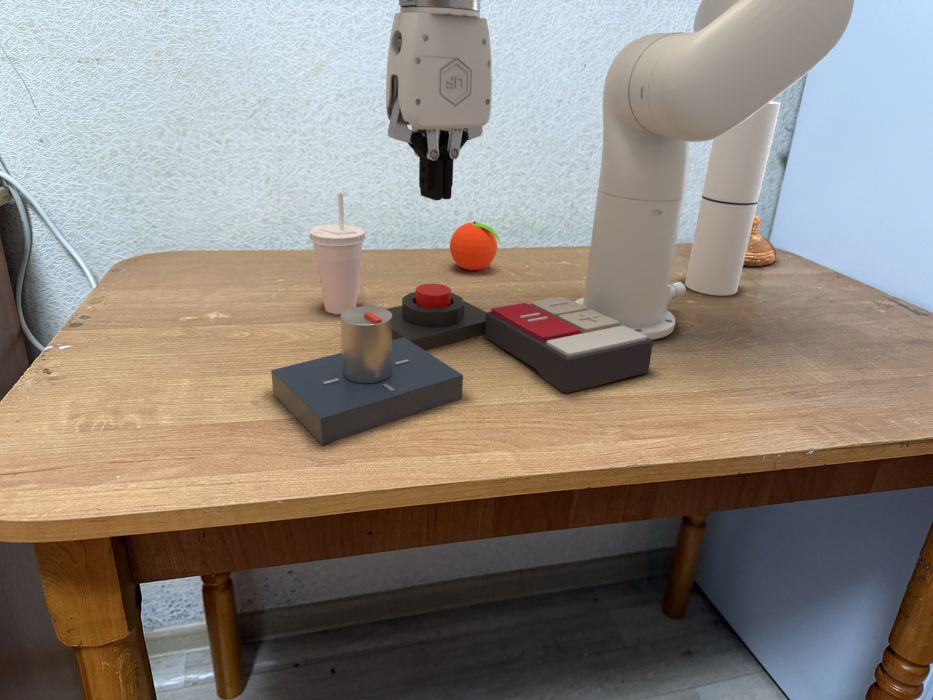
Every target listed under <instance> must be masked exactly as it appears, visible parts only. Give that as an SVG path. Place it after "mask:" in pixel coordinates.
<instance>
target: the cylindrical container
mask: <svg viewBox="0 0 933 700" xmlns="http://www.w3.org/2000/svg"><path fill="white" fill-rule="evenodd" d="M781 104H782V103H781V102H778V101H770V102H769V103H768V104H767V105H765V106H764V107H763V108H761V109H760V110H759V111H757V112H756V113H755V114H753V115H752V116H751V117H749V118H748V119H747V120H745V121H744V122H743V123H741V124H740V125H738V126H737V127H735V128H734V129H732V130H731V131H729V132H727V133H725V134H723V135H721V136H719V137H717V138H714V139H712V144H711V149H710V153H709V159H708V164H707V167H706V174H705V179H704V184H703V188H702V189H703V190H702V196H701V199H700V204H699V209H698V214H697V219H696V224H695V230H694V234H693V241H692V243H691V244H692V246H691V249H690V256H689V260H688V266H687V270H686V276H685V280H684V286H685V287H687V288H688V289H690V290H692V291H695V292H697V293H701V294H705V295H711V296H721V297H722V296H733V295H734V294H736V293H737V292H738V289H739V285H740V280H741V276H742V272H743V267H744V266H743V263H744V259H745V255H746V250H747V246H748V242H749V238H750V233H751V229H752V225H753V221H754V216H756V213H757V207H758V202H759V199H760V195H761V190H762V186H763V182H764V176H765V174H766V169H767V164H768V161H769V157H770V153H771V148H772V143H773V139H774V136H775V135H774V134H775V132H776V131H775V130H776V127H777V122H778V118H779V114H780V108H781V106H782V105H781Z"/></svg>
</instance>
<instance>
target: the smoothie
mask: <svg viewBox="0 0 933 700" xmlns="http://www.w3.org/2000/svg"><path fill="white" fill-rule="evenodd" d="M337 201H338V202H337V203H338V205H337V206H338V222H339V223H334V224H333V223H332V224H322V225H318V226H314V227H312V228H311V229H310V230H309V238H308V239H309V241H310V242H311V243H312V245H313V252H314V256H315V263H316V268H317V272H318V278H319V285H320V289H321V295H322V301H323V306H324V310H325V312H327V313H330V314H333V315H341V314H342V313H343V312H344V311H345V310H348V309H350V308H354V307H357V302H358V293H359V283H360V272H361V263H362V253H363V242H365V241H366V230H365V229H364V228H362V227H360V226H357V225H352V224H345V213H344V212H345V211H344V209H345V208H344V207H345V206H344V192H337Z"/></svg>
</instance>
